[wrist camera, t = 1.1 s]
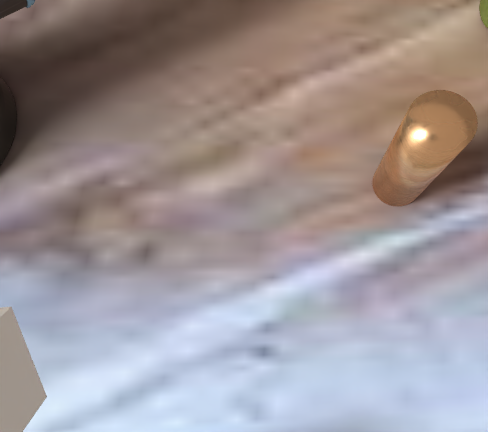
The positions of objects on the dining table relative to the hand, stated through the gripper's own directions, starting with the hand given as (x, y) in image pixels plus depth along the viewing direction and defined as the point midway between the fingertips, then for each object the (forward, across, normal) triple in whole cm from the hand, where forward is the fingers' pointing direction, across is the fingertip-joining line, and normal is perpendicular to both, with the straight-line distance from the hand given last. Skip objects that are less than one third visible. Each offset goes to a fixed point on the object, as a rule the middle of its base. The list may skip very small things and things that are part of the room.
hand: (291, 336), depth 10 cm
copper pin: (+29, +8, -7) cm, 31 cm away
